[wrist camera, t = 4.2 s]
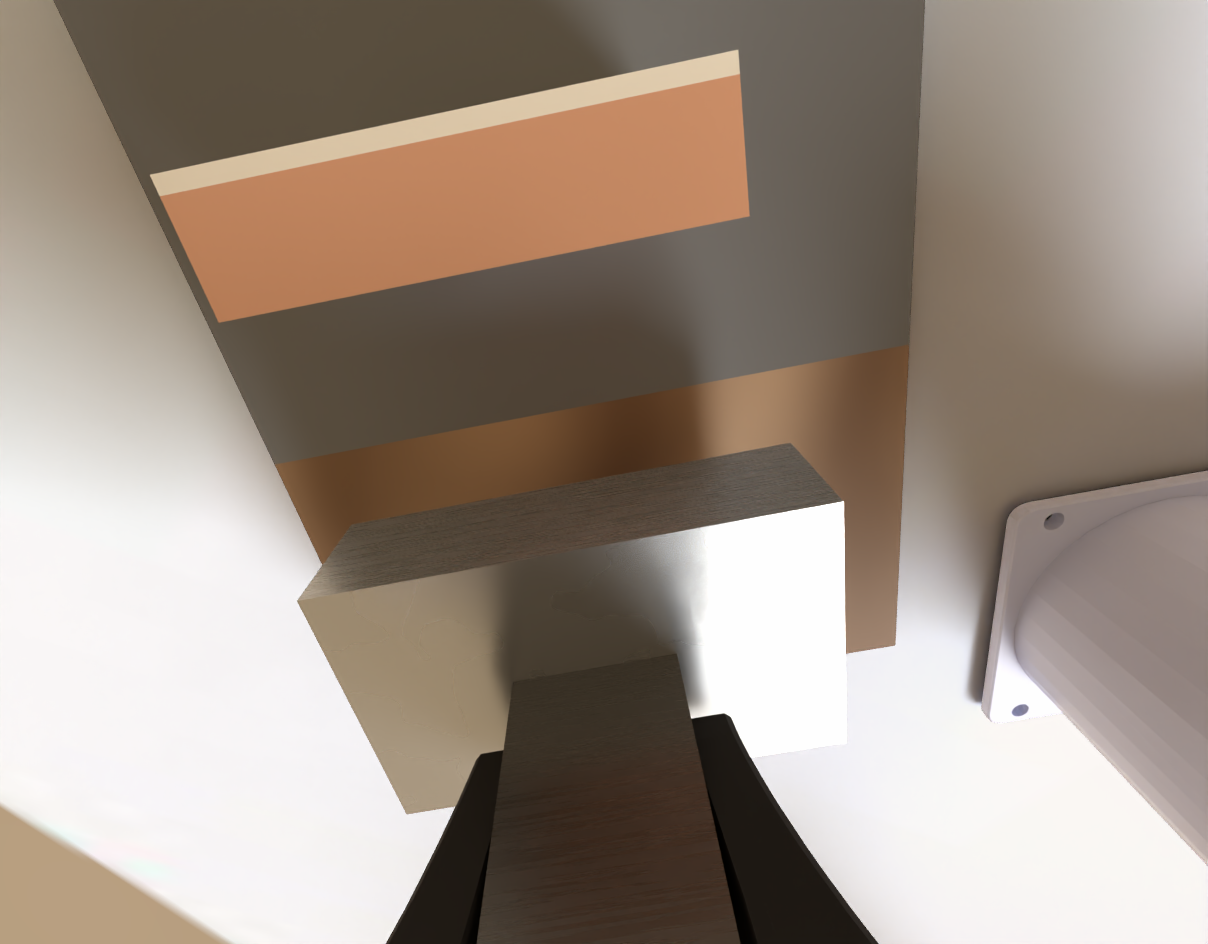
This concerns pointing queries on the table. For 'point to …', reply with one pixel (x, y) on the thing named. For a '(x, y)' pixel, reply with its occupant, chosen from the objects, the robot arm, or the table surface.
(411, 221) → the tile
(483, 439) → the board
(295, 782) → the table surface
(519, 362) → the rubber mat
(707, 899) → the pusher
